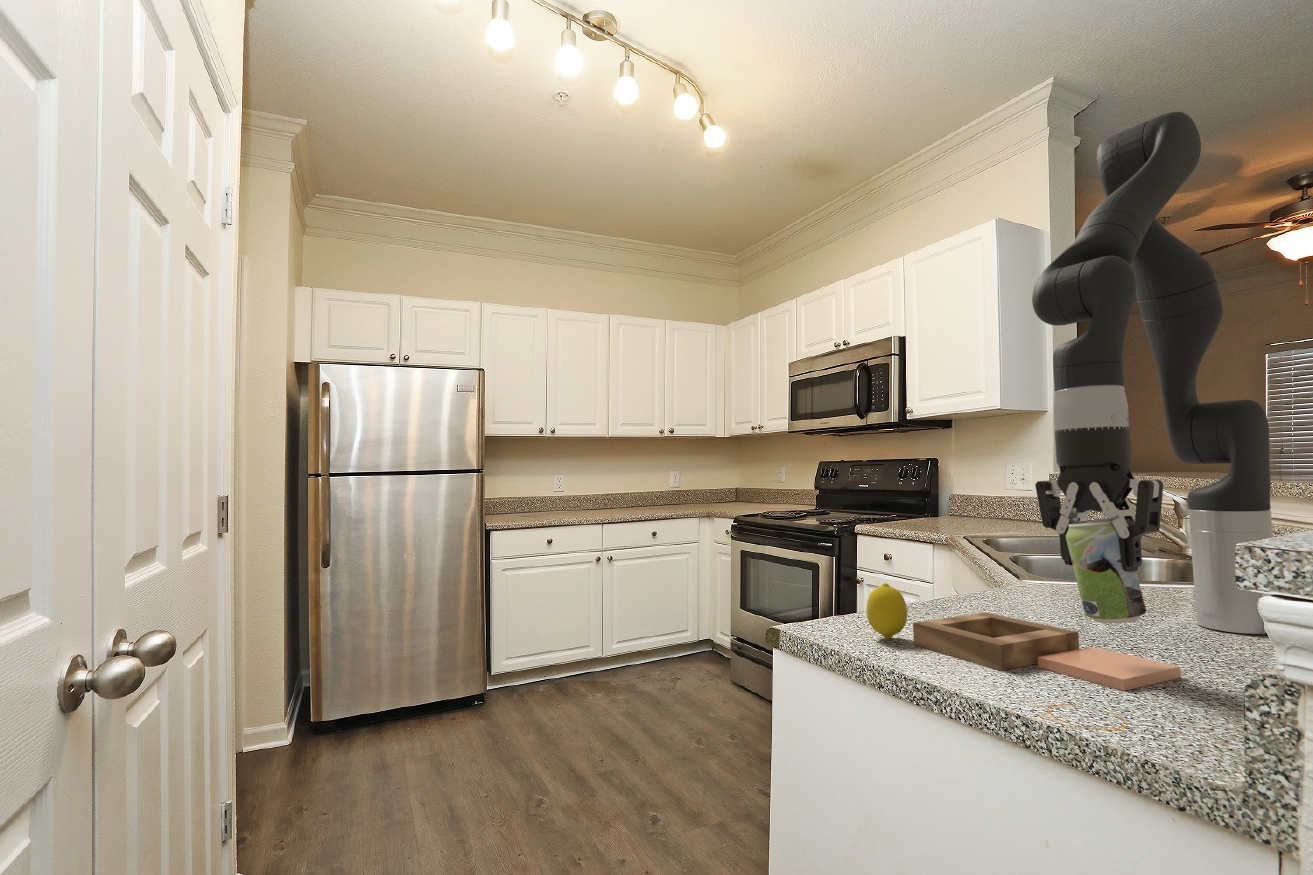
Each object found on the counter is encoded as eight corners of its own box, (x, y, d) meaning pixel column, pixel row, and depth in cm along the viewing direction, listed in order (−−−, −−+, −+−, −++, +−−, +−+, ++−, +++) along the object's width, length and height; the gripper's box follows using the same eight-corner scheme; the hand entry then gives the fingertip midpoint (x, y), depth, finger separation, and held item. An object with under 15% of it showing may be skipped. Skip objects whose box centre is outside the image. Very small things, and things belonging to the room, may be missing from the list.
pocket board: (986, 632, 97) (985, 612, 97) (1079, 655, 84) (1078, 631, 84) (914, 644, 92) (912, 622, 92) (1001, 670, 79) (999, 645, 79)
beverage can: (1158, 628, 73) (1150, 519, 74) (1085, 627, 75) (1078, 521, 75) (1129, 616, 79) (1122, 516, 80) (1062, 615, 81) (1056, 517, 81)
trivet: (1092, 656, 84) (1092, 646, 84) (1180, 677, 74) (1180, 666, 74) (1038, 666, 80) (1037, 656, 80) (1123, 690, 70) (1123, 679, 71)
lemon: (893, 646, 91) (890, 587, 91) (859, 638, 95) (857, 583, 96) (916, 639, 94) (913, 583, 95) (882, 632, 99) (880, 578, 99)
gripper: (1176, 421, 74) (1187, 573, 73) (1055, 431, 87) (1063, 559, 86) (1134, 420, 71) (1144, 578, 70) (1015, 430, 84) (1022, 563, 83)
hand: (1099, 567), depth 78 cm, fingers closed on beverage can, 6 cm apart
